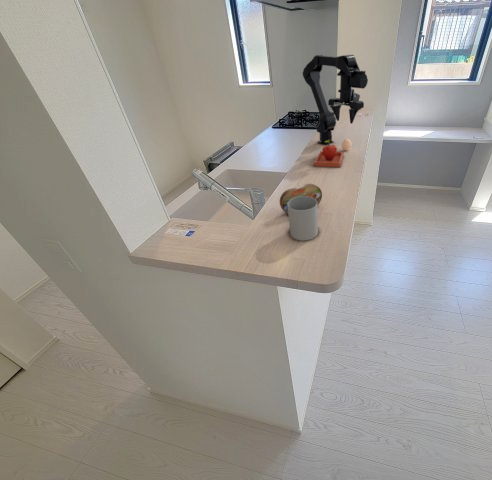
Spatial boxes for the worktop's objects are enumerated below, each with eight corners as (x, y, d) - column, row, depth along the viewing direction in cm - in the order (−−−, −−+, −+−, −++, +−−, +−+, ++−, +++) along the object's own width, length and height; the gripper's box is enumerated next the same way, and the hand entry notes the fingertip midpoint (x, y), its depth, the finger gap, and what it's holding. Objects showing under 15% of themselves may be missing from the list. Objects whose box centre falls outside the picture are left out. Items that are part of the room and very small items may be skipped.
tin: (283, 217, 88) (280, 194, 83) (279, 213, 90) (277, 190, 85) (322, 205, 93) (322, 183, 88) (318, 202, 96) (317, 180, 91)
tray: (320, 155, 135) (320, 151, 134) (343, 156, 133) (343, 151, 132) (314, 166, 124) (314, 161, 122) (339, 167, 121) (339, 162, 120)
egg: (342, 148, 142) (343, 137, 139) (352, 149, 141) (352, 137, 137) (340, 151, 139) (340, 139, 135) (349, 152, 137) (350, 140, 133)
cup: (318, 225, 83) (318, 196, 78) (317, 240, 77) (316, 210, 71) (292, 224, 84) (289, 196, 78) (288, 240, 78) (285, 210, 72)
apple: (322, 157, 131) (322, 136, 125) (336, 156, 131) (336, 135, 125) (322, 162, 125) (322, 141, 119) (337, 162, 125) (338, 140, 119)
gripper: (372, 86, 125) (369, 121, 134) (343, 83, 137) (342, 116, 146) (357, 89, 119) (354, 126, 129) (327, 86, 131) (327, 120, 140)
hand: (344, 122), depth 136 cm, fingers open, 9 cm apart
